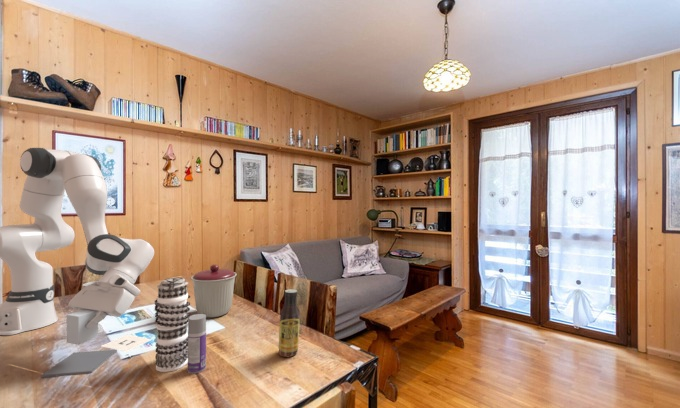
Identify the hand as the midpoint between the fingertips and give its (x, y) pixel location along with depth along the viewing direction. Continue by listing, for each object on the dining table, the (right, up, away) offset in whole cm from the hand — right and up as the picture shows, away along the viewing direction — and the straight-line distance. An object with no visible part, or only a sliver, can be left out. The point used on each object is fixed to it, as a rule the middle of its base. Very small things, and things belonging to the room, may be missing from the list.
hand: (80, 326), depth 85 cm
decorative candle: (+26, -12, +1) cm, 29 cm away
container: (+35, -12, -1) cm, 37 cm away
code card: (+4, -11, +14) cm, 18 cm away
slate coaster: (0, -11, +1) cm, 11 cm away
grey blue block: (0, -4, +1) cm, 4 cm away
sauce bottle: (+60, -12, +8) cm, 61 cm away
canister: (+21, -12, +41) cm, 48 cm away
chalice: (-14, -11, +22) cm, 28 cm away
